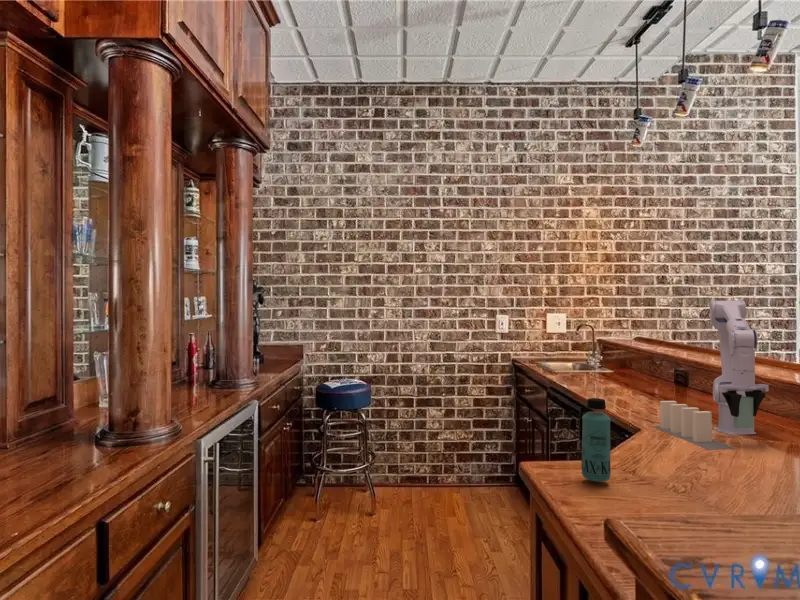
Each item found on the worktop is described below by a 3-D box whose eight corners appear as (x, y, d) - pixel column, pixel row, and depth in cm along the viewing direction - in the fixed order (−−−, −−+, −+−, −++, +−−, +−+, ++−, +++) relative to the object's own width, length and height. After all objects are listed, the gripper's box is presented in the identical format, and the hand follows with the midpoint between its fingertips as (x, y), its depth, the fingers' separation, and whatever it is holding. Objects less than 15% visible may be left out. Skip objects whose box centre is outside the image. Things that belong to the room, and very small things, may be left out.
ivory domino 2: (684, 431, 163) (684, 403, 163) (687, 432, 162) (687, 404, 162) (670, 431, 163) (670, 404, 163) (673, 432, 161) (673, 405, 161)
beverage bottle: (576, 478, 120) (576, 396, 120) (603, 478, 120) (602, 395, 120) (589, 488, 113) (588, 401, 113) (617, 487, 114) (616, 401, 114)
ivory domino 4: (708, 440, 152) (707, 411, 152) (711, 441, 151) (711, 412, 151) (692, 440, 152) (692, 411, 152) (696, 442, 150) (696, 412, 150)
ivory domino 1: (674, 427, 169) (673, 400, 169) (677, 428, 167) (676, 401, 167) (660, 427, 168) (659, 401, 168) (663, 428, 167) (662, 401, 167)
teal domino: (749, 426, 148) (749, 396, 148) (753, 428, 146) (753, 397, 146) (733, 427, 147) (733, 396, 147) (737, 428, 146) (737, 397, 146)
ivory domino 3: (696, 435, 158) (695, 407, 158) (699, 436, 156) (699, 408, 156) (681, 436, 157) (680, 407, 157) (684, 437, 156) (684, 408, 156)
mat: (675, 426, 171) (675, 425, 171) (737, 449, 143) (737, 448, 143) (650, 426, 170) (650, 426, 170) (708, 450, 142) (708, 449, 142)
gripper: (730, 372, 142) (730, 419, 142) (777, 371, 143) (777, 418, 143) (712, 369, 149) (713, 414, 149) (757, 368, 150) (757, 413, 150)
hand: (743, 415), depth 147 cm, fingers closed on teal domino, 5 cm apart
